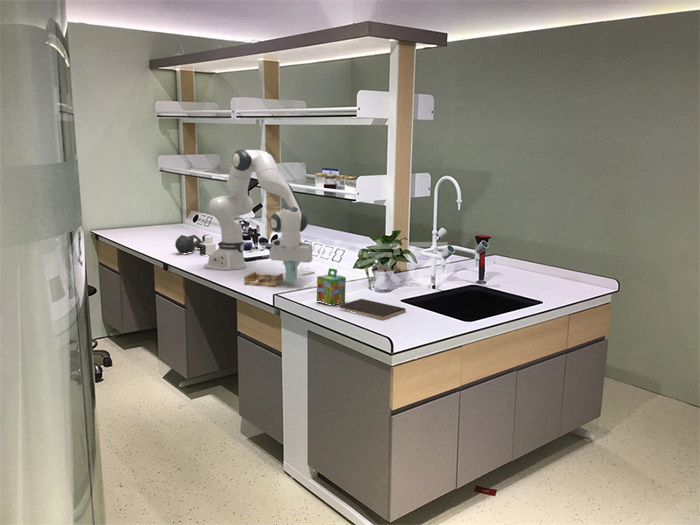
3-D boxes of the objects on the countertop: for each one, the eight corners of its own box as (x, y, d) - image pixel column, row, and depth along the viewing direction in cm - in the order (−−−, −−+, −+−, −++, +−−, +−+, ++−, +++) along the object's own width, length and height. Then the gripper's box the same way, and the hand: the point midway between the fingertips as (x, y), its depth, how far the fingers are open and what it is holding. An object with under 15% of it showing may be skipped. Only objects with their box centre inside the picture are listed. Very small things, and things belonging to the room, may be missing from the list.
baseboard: (253, 280, 313) (269, 284, 305) (253, 274, 312) (269, 278, 304) (299, 271, 335) (314, 274, 327) (299, 265, 335) (314, 269, 327)
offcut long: (254, 284, 296) (254, 281, 296) (257, 282, 300) (257, 279, 300) (267, 285, 295) (267, 282, 294) (270, 283, 298) (270, 280, 298)
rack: (244, 286, 296) (244, 276, 295) (254, 281, 306) (253, 271, 305) (274, 289, 292) (274, 278, 291) (282, 284, 302) (282, 274, 301)
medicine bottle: (199, 254, 374) (199, 235, 372) (210, 253, 379) (209, 233, 377) (205, 256, 369) (205, 236, 367) (216, 255, 374) (215, 235, 372)
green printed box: (316, 302, 269) (316, 269, 266) (330, 298, 276) (330, 266, 273) (331, 306, 263) (331, 272, 260) (346, 302, 270) (346, 269, 267)
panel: (291, 278, 299) (291, 259, 297) (296, 278, 298) (296, 259, 296) (285, 281, 291) (285, 262, 289) (290, 282, 290) (290, 263, 289)
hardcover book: (382, 321, 245) (382, 315, 244) (338, 310, 259) (338, 305, 259) (405, 313, 257) (405, 307, 256) (362, 303, 271) (362, 298, 271)
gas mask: (206, 264, 388) (181, 251, 367) (195, 262, 392) (170, 250, 371) (212, 242, 392) (188, 228, 370) (202, 241, 396) (177, 227, 374)
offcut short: (258, 281, 295) (258, 278, 295) (260, 280, 299) (260, 277, 299) (268, 282, 295) (268, 279, 294) (270, 280, 298) (270, 277, 298)
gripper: (314, 241, 291) (314, 270, 294) (273, 239, 297) (274, 267, 299) (310, 243, 285) (310, 273, 288) (268, 241, 291) (268, 270, 293)
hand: (291, 270), depth 294 cm, fingers closed on panel, 2 cm apart
